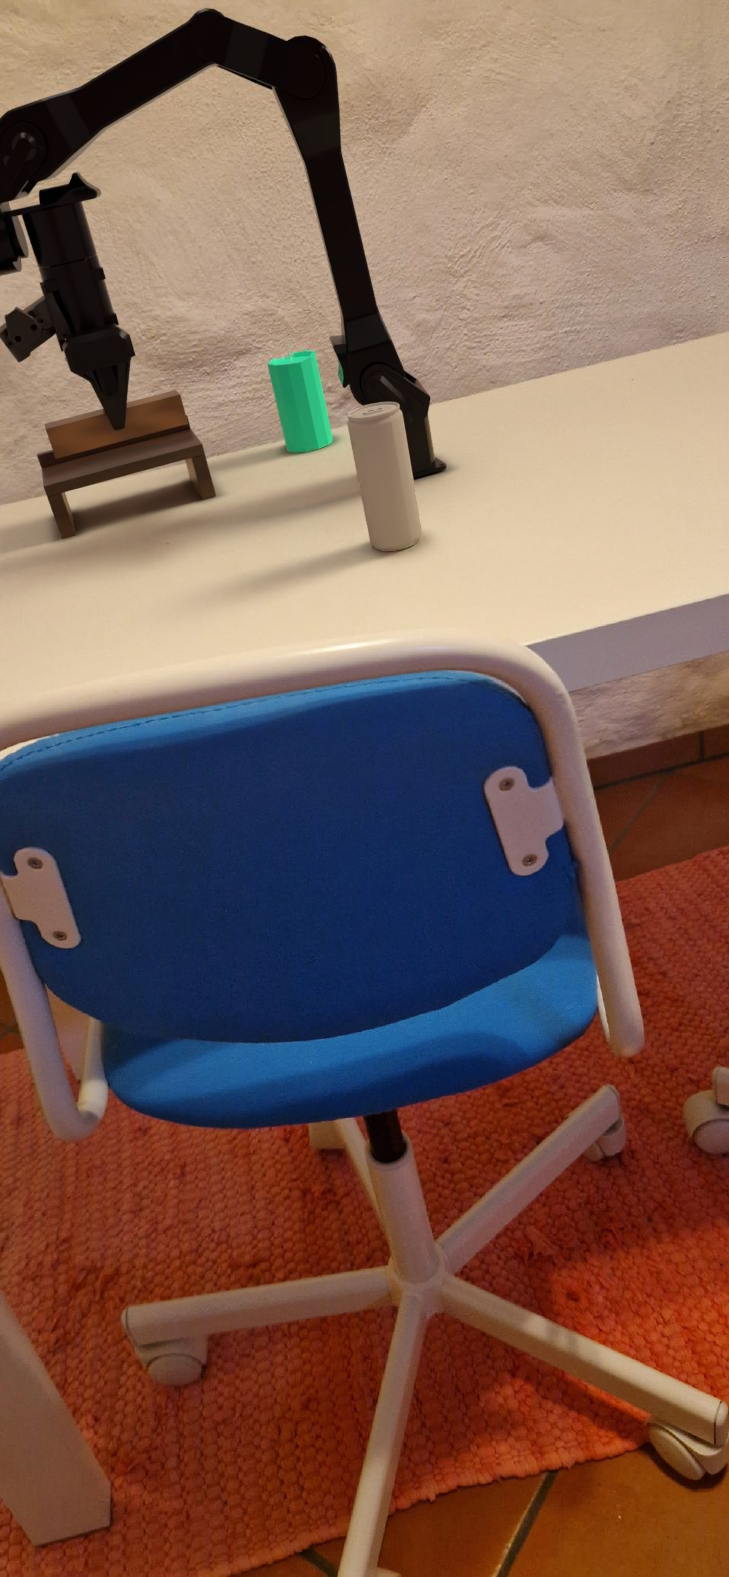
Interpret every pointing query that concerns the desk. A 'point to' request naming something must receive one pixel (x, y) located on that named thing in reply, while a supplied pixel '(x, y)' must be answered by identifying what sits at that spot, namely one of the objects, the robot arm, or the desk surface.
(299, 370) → the candle
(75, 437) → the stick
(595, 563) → the desk surface
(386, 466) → the beverage can
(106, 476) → the shelf
